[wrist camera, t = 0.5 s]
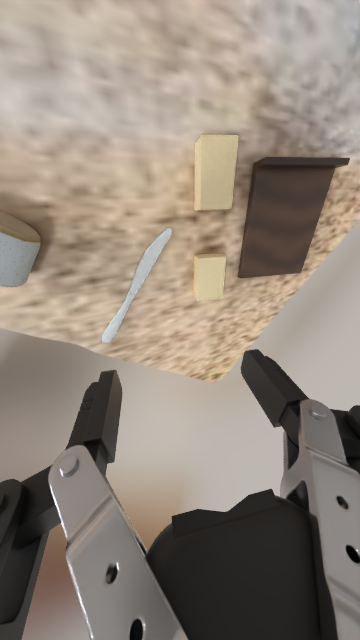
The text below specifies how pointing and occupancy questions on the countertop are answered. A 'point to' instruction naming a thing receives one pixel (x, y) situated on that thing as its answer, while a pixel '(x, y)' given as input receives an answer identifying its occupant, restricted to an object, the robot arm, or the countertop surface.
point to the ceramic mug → (16, 250)
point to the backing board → (284, 213)
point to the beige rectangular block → (215, 171)
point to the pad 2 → (209, 276)
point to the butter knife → (137, 281)
